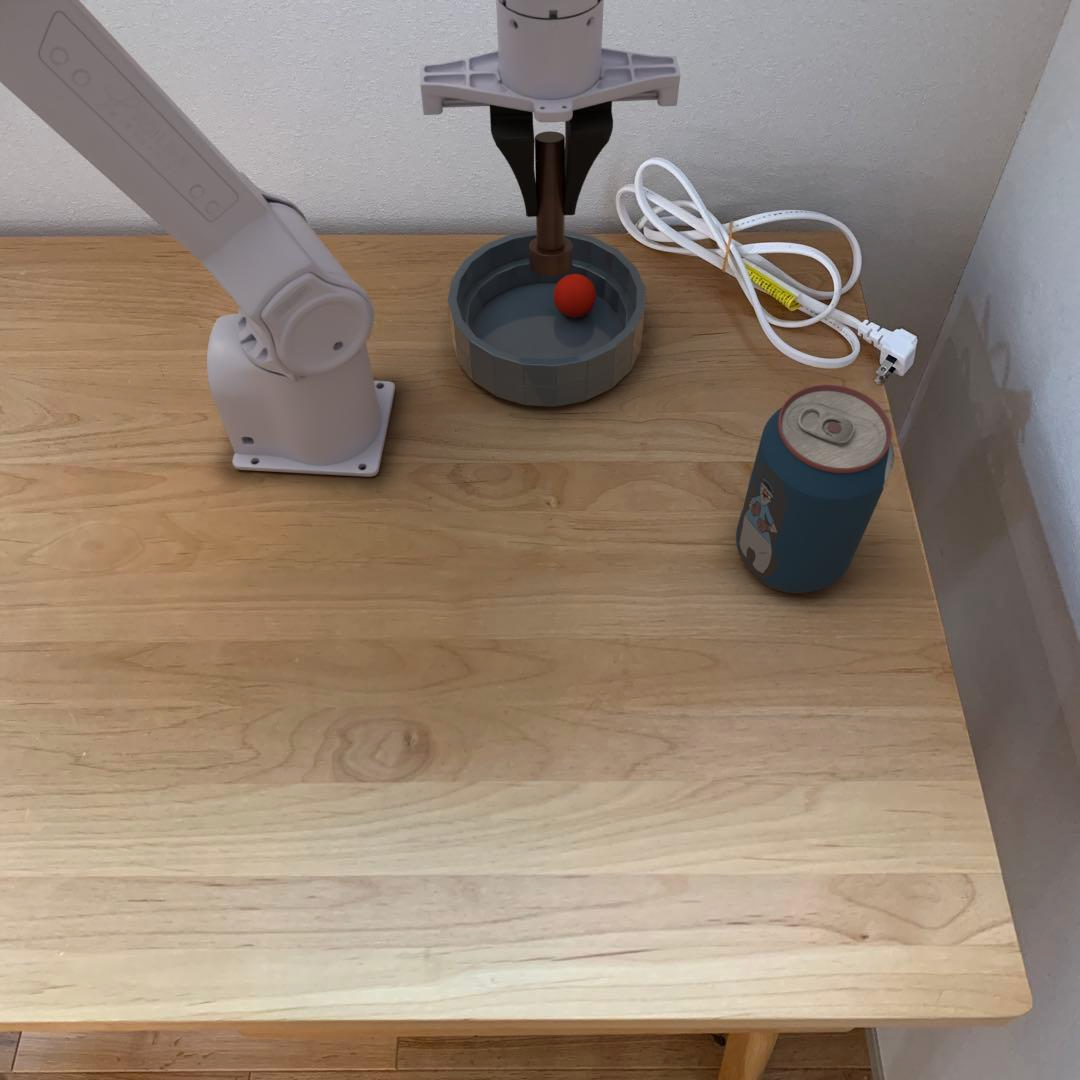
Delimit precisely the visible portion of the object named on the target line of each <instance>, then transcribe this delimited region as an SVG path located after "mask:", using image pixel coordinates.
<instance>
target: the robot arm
mask: <svg viewBox="0 0 1080 1080" xmlns="http://www.w3.org/2000/svg"><path fill="white" fill-rule="evenodd" d="M604 4H605V0H495V7H496V32H497V50H493V51H489V52H485V53H481V54H476V55H472V56H468V57H464V58H459V59H456V60H451V61H446V62H438V63H428V64H421V65H420V75H419V76H420V77H419V79H420V80H419V81H420V82H419V85H420V86H419V87H420V94H421V95H420V96H421V104H422V112H423V115H424V116H435V115H441V114H443V112H444V109H446V108H472V107H473V108H475V107H489V121H490V122H489V125H490V134H491V137H492V139H493V142H494V143H495V146H496V147H497V149H498V150H499V151H500V153H501V154H502V155H503V157H504V159H505V161H506V162H507V163H508V165H509V167H510V169H511V172H512V173H513V175H514V177H515V180H516V183H517V185H518V187H519V190H520V193H521V196H522V200H523V204H524V208H525V216H526V217H527V218H534V217H535V218H536V217H537V196H536V174H535V131H534V130H535V129H534V119H535V120H536V121H537V122H539V123H564V129H565V130H564V137H565V194H564V216H565V217H566V216H574V215H576V210H577V205H578V201H579V198H580V195H581V192H582V190H583V189H582V188H583V186H584V184H585V181H586V179H587V176H588V175H589V172H590V170H591V168H592V166H593V165H594V163H595V161H596V159H597V158H598V157H599V155H600V153H601V152H602V150H603V149H604V148H605V147H606V146H607V144H608V143H609V142H610V139H611V137H612V135H613V129H614V117H613V111H612V110H613V102H636V101H637V102H640V101H656V103H657V105H658V106H659V107H676V106H678V101H679V99H678V98H679V91H680V82H681V71H680V68H679V67H680V66H679V63H678V59H677V56H676V55H653V54H645V53H638V52H632V51H626V50H619V49H613V48H608V47H603V29H604V28H603V27H604V26H603V25H604ZM0 83H1V84H2V85H3V86H4V87H5V88H6V89H7V90H9V91H10V92H11V93H12V94H13V95H14V96H15V97H16V98H17V99H19V100H20V101H21V102H22V103H23V104H24V106H26V107H27V108H28V109H30V110H31V111H32V113H34V114H35V115H36V116H38V117H39V118H40V120H42V121H43V122H44V123H46V125H48V126H49V127H50V128H51V130H53V131H54V132H55V133H56V134H57V135H59V136H60V137H61V138H62V139H63V140H64V141H65V142H66V143H67V144H69V146H71V147H72V148H73V149H74V150H75V151H76V152H78V153H79V154H80V155H81V156H82V157H83V158H84V159H85V160H86V161H88V163H90V164H91V165H92V166H93V167H94V168H96V169H97V171H99V172H100V174H102V175H103V176H104V177H105V178H106V179H108V181H110V182H111V183H112V184H113V185H114V186H115V187H116V188H118V189H119V190H120V191H121V192H122V193H123V194H124V195H125V196H127V197H128V198H129V199H130V200H131V201H132V202H133V203H134V204H136V206H138V207H139V209H141V210H142V211H144V213H145V214H147V215H148V216H149V217H150V218H151V219H152V220H153V221H155V222H156V223H157V224H158V225H159V226H160V227H161V228H162V229H164V230H165V231H166V232H167V233H168V234H169V235H170V236H171V237H172V238H174V240H176V241H177V242H178V243H179V244H180V245H181V246H182V247H183V248H185V250H187V251H188V252H189V253H190V254H191V255H192V256H193V257H194V258H196V260H198V262H200V263H201V264H202V265H203V267H205V268H206V269H207V271H208V272H209V273H210V274H211V276H213V278H214V279H215V280H216V281H217V283H219V285H220V286H221V287H222V289H224V291H225V292H226V293H227V294H228V295H229V297H230V298H231V299H232V300H233V301H234V302H235V304H236V305H237V306H238V313H232V314H224V315H220V316H219V317H218V318H217V319H216V320H215V322H214V324H213V326H212V328H211V330H210V334H209V339H208V342H207V343H208V344H207V351H206V372H207V380H208V387H209V391H210V394H211V397H212V400H213V402H214V405H215V407H216V410H217V412H218V416H219V418H220V420H221V423H222V426H223V427H224V430H225V432H226V435H227V437H228V440H229V442H230V445H231V448H232V450H233V452H234V454H233V457H232V460H231V462H232V466H233V468H234V469H236V470H239V471H256V472H257V471H258V472H271V473H272V472H273V473H274V472H276V473H293V474H311V475H312V474H313V475H328V476H329V475H331V476H346V477H347V476H348V477H349V476H350V477H351V476H352V477H366V478H367V477H369V478H373V477H375V476H376V475H378V474H379V471H380V467H381V461H382V457H383V452H384V447H385V442H386V437H387V432H388V426H389V422H390V418H391V414H392V413H391V412H392V408H393V403H394V399H395V398H394V397H395V394H396V386H395V383H394V382H392V381H388V380H375V379H374V375H373V370H372V366H371V361H370V355H369V351H368V345H367V342H368V340H369V338H370V336H371V334H372V331H373V327H374V324H375V307H374V305H373V300H372V299H371V297H370V295H369V294H368V292H367V291H366V290H365V289H364V288H363V287H362V286H361V285H359V283H357V282H356V280H353V278H352V277H351V276H350V275H349V273H348V272H347V271H346V270H345V268H344V267H343V266H342V265H341V264H340V262H339V261H338V260H337V258H336V256H335V255H333V253H332V252H331V251H330V250H329V248H328V247H327V246H326V245H325V244H324V242H323V241H322V240H321V238H320V237H319V236H318V235H317V233H316V232H315V231H314V230H313V228H312V227H311V226H310V225H309V223H308V221H307V219H306V216H305V214H304V213H303V211H301V209H300V208H299V207H298V206H297V205H296V204H295V203H294V202H292V201H291V200H290V199H288V198H286V197H284V196H282V195H277V194H274V193H271V192H267V191H265V190H263V189H261V188H259V187H258V186H257V185H256V184H255V183H254V182H252V180H251V179H250V178H249V177H248V176H247V175H246V174H245V173H244V172H242V171H239V169H237V168H236V167H235V166H234V165H233V164H232V163H231V162H230V160H229V159H228V158H227V157H226V156H225V155H224V154H223V153H222V152H221V151H220V150H219V149H218V147H217V146H216V145H215V144H214V143H213V142H212V141H211V140H210V139H209V138H208V137H207V136H206V135H205V133H203V131H202V130H201V129H200V128H199V127H198V126H197V125H196V124H195V123H194V122H193V120H191V118H190V117H189V116H188V115H187V114H186V113H185V112H184V111H183V110H182V109H181V108H180V107H179V106H178V105H177V103H176V102H175V101H173V99H172V98H171V97H170V96H169V94H167V93H166V92H165V90H163V88H162V87H160V85H159V84H158V83H157V82H156V81H155V80H154V79H153V78H152V77H151V76H150V75H149V73H147V72H146V70H145V69H144V68H143V67H142V66H141V64H139V63H138V62H137V60H135V58H134V57H133V56H132V55H131V54H130V52H128V51H127V50H126V49H125V47H123V46H122V44H121V43H120V42H119V41H118V40H117V39H116V38H115V37H114V36H113V35H112V33H110V31H108V30H107V28H105V26H104V25H103V24H102V23H101V22H100V21H99V20H98V18H96V17H95V15H94V14H93V13H92V12H91V11H90V10H89V9H88V8H87V7H86V6H85V5H84V4H83V2H81V1H80V0H0ZM362 468H364V469H362Z"/></svg>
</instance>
